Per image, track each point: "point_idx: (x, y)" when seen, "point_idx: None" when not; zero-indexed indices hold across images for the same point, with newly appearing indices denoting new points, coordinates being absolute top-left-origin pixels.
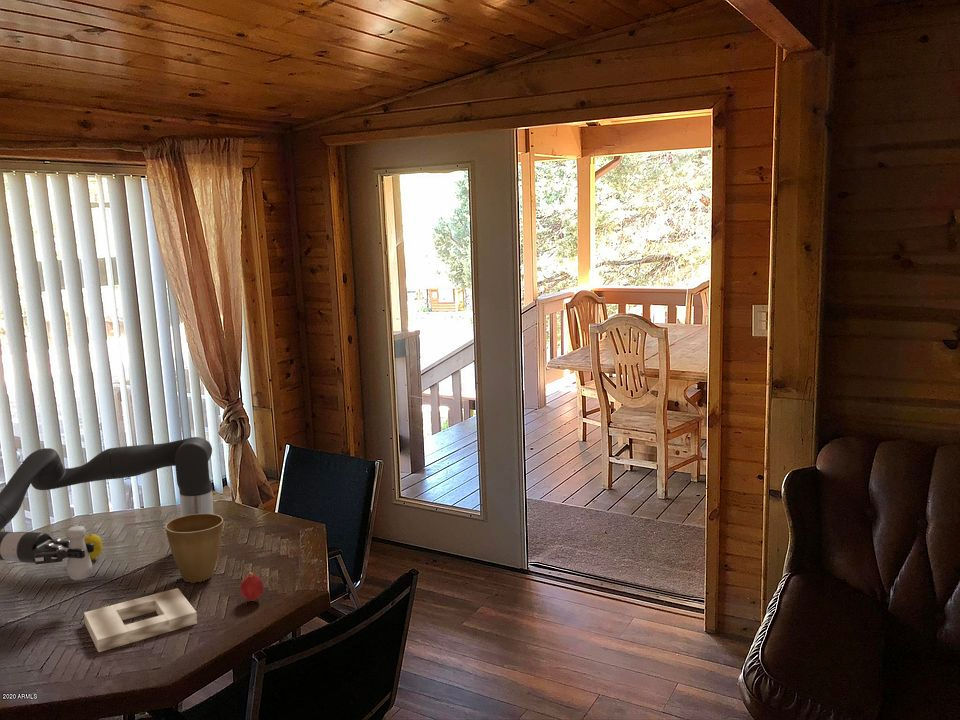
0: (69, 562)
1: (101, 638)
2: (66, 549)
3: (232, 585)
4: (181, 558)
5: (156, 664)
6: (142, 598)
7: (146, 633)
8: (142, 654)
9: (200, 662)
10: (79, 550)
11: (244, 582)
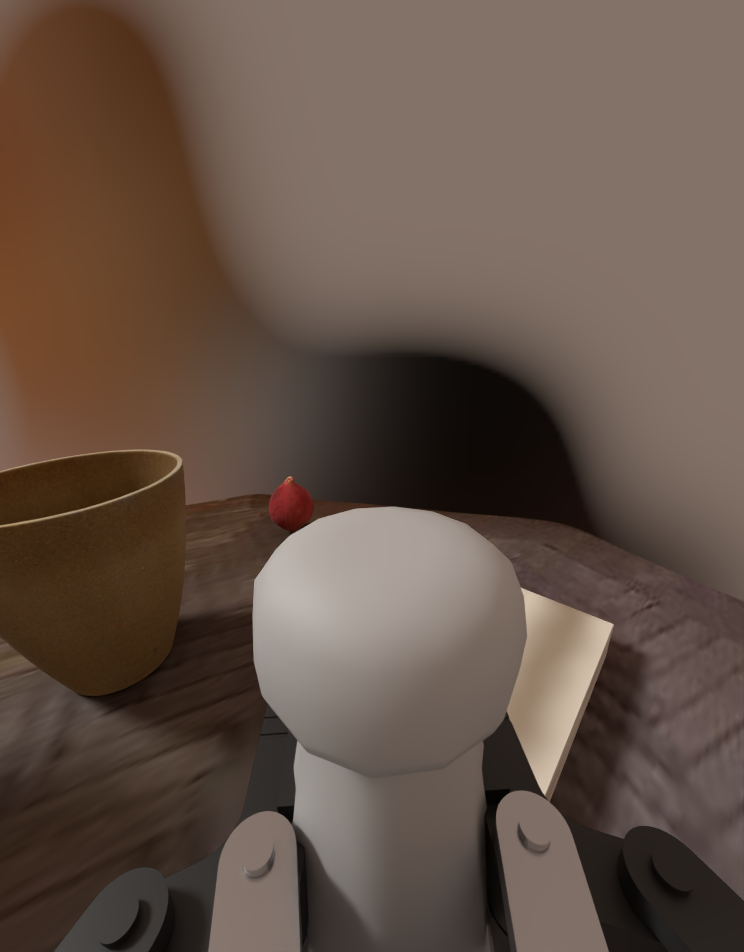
0: None
1: (599, 621)
2: (539, 811)
3: (211, 575)
4: (172, 577)
5: (543, 551)
6: None
7: None
8: (537, 579)
9: (497, 518)
10: None
11: (301, 494)
